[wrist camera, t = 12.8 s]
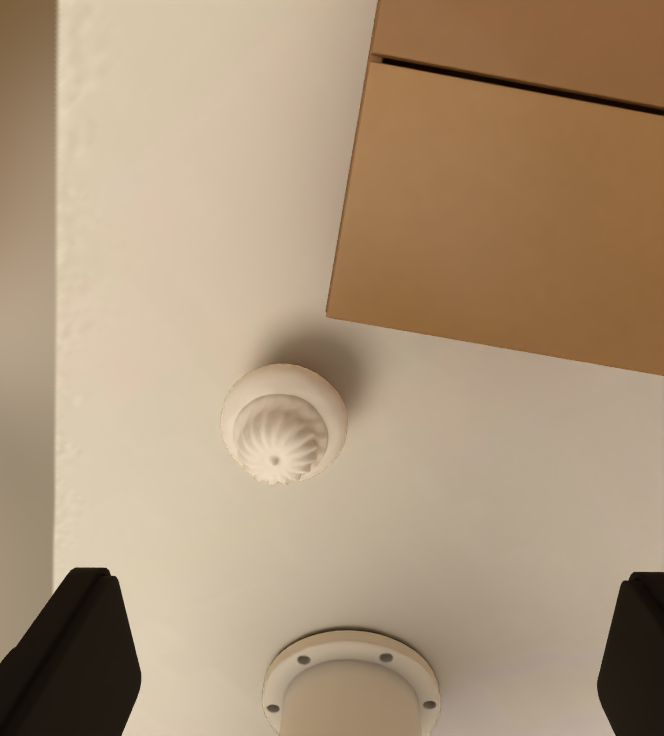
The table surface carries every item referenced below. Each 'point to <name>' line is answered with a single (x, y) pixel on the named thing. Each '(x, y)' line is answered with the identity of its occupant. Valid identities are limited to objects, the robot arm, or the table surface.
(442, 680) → the table surface
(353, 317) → the flap
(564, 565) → the table surface
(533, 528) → the table surface
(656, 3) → the carton
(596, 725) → the table surface
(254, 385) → the muffin
